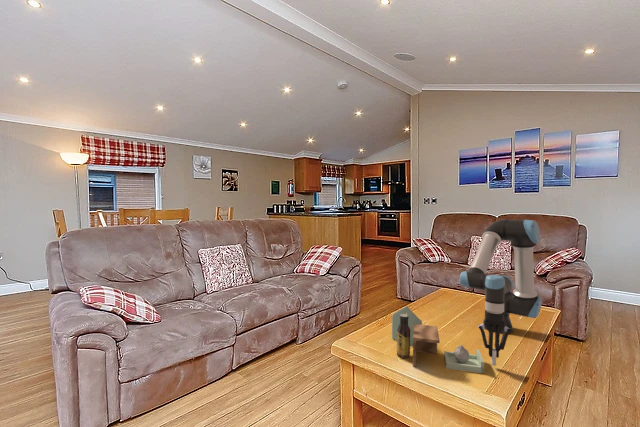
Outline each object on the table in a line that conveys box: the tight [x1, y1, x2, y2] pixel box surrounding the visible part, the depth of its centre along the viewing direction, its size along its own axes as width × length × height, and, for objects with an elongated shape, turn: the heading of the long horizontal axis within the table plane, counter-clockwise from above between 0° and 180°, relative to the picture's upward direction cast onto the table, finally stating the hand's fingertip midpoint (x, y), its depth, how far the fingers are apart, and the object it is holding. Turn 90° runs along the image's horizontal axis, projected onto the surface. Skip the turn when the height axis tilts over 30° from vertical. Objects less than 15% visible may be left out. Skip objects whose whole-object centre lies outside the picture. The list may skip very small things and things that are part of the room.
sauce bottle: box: [396, 313, 411, 359], centre depth 157 cm, size 7×6×20 cm
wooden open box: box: [412, 324, 441, 368], centre depth 153 cm, size 11×17×13 cm, turn 164°
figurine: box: [453, 344, 470, 363], centre depth 149 cm, size 6×7×8 cm
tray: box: [443, 349, 485, 374], centre depth 149 cm, size 15×12×5 cm
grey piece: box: [391, 305, 423, 347], centre depth 173 cm, size 16×8×20 cm, turn 50°
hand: (493, 363), depth 145 cm, fingers closed
